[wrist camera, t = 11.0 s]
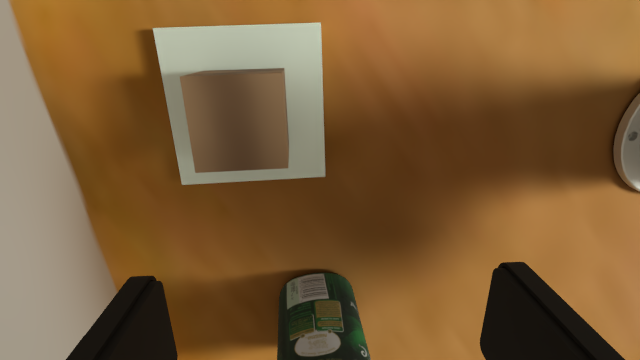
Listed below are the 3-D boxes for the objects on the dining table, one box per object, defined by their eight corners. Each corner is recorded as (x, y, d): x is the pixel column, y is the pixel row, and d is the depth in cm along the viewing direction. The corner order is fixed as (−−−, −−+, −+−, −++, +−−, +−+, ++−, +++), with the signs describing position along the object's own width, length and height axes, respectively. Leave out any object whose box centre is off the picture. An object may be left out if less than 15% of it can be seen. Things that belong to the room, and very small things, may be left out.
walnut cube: (284, 67, 26) (282, 72, 21) (289, 144, 29) (288, 168, 23) (203, 70, 26) (179, 76, 20) (214, 148, 28) (195, 172, 23)
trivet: (319, 24, 27) (320, 22, 26) (323, 170, 31) (325, 176, 30) (160, 29, 26) (152, 28, 25) (187, 178, 31) (182, 184, 29)
